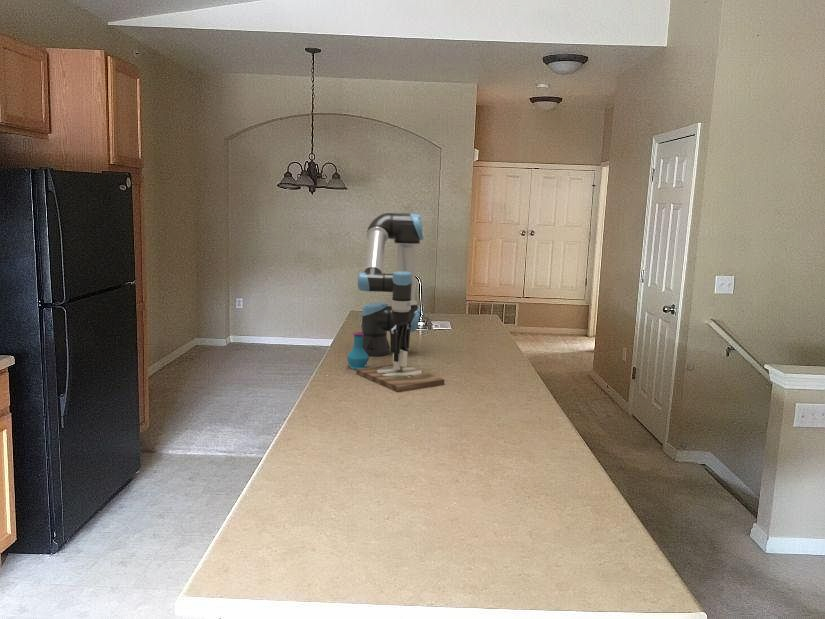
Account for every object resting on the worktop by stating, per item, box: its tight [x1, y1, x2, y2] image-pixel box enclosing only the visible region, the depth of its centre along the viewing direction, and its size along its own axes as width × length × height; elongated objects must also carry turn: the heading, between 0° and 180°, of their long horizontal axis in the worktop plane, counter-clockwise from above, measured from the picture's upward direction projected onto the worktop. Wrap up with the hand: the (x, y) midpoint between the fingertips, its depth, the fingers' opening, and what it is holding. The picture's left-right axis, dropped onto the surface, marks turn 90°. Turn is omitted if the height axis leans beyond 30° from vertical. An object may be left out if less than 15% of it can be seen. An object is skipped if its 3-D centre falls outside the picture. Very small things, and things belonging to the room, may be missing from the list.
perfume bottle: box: [346, 331, 370, 370], centre depth 278 cm, size 9×9×15 cm
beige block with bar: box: [380, 349, 408, 374], centre depth 262 cm, size 7×11×9 cm, turn 128°
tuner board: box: [355, 363, 446, 393], centre depth 262 cm, size 30×22×2 cm
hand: (399, 368), depth 266 cm, fingers closed on beige block with bar, 3 cm apart
